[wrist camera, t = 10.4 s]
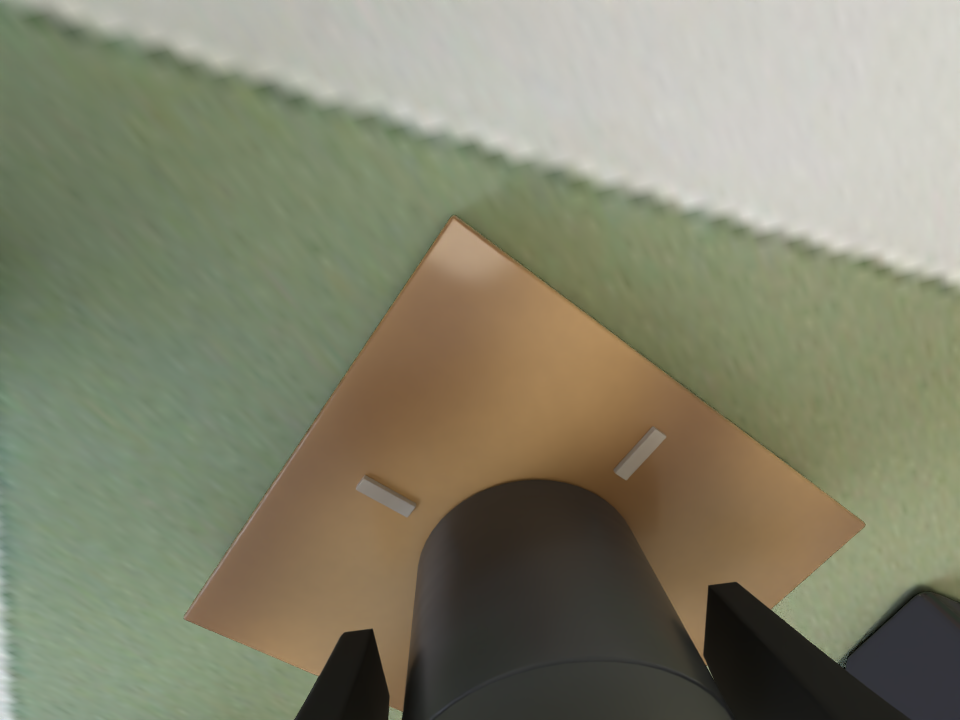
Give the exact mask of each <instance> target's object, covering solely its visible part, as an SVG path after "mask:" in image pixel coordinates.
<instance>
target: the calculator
mask: <svg viewBox="0 0 960 720" xmlns="http://www.w3.org/2000/svg"><path fill="white" fill-rule="evenodd" d="M845 670H846V671H848V672H849V673H850V674H851V675H853V676H854V677H855V678H857V679H858V680H859V681H860V682H862V683H863V684H864V685H865V686H867V687H868V688H869V689H871V690H872V691H873V692H875V693H876V694H877V695H879V696H880V697H881V698H883V699H884V700H885V701H887V702H888V703H889V704H891V705H892V706H893V707H895V708H896V709H897V710H899V711H900V712H902V713H903V714H904V715H906V716H907V717H908V718H910V719H911V720H960V603H959V602H956V601H954V600H951V599H949V598H947V597H944V596H942V595H939V594H936V593H933V592H922V593H919V594H918V595H916V596H915V597H913V598H912V599H911V600H910V601H909V602H908V603H907V604H906V605H904V606H903V607H902V608H901V609H900V610H899V611H898V612H897V613H896V614H895V615H894V616H892V617H891V618H890V619H889V620H888V621H887V622H886V623H885V624H884V625H883V626H882V627H880V628H879V629H878V630H877V631H876V632H875V633H874V634H873V635H872V636H871V637H870V638H868V639H867V640H866V641H865V642H864V643H863V644H862V645H861V646H860V647H859V648H857V649H856V650H855V651H854V652H853V653H852V654H851V655H850V656H849V657H848V658H847V662H846V669H845Z"/></svg>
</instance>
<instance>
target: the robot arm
mask: <svg viewBox="0 0 960 720" xmlns="http://www.w3.org/2000/svg"><path fill="white" fill-rule="evenodd" d="M703 656H704V658H705V660H706V663H707V665H708V667H709V670H710V672H711V674H712V676H713V679H714V681H715V683H716V685H717V687H718V688H719V690H720V692H721V694H722V696H723V698H724V699H725V701H726V703H727V705H728V707H729V708H730V710H731V712H732V714H733V716H734V718H735V720H911V719H910V718H908V717H907V716H906V715H904V714H903V713H902V712H900V711H899V710H897V709H896V708H895V707H893V706H892V705H891V704H889V703H888V702H887V701H885V700H884V699H883V698H881V697H880V696H879V695H877V694H876V693H875V692H873V691H872V690H871V689H869V688H868V687H867V686H865V685H864V684H863V683H862V682H860V681H859V680H858V679H857V678H855V677H854V676H853V675H851V674H850V673H849V672H848V671H846V670H845V669H844V668H842V667H841V666H840V665H839V664H837V663H836V662H835V661H833V660H832V659H831V658H830V657H828V656H827V655H826V654H825V653H823V652H822V651H821V650H820V649H818V648H817V647H816V646H815V645H813V644H812V643H811V642H810V641H808V640H807V639H806V638H805V637H803V636H802V635H801V634H800V633H799V632H797V631H796V630H795V629H794V628H792V627H791V626H790V625H789V624H787V623H786V622H785V621H784V620H783V619H781V618H780V617H779V616H778V615H777V614H775V613H774V612H773V611H772V610H770V609H769V608H768V607H767V606H766V605H764V604H763V603H762V602H761V601H760V600H758V599H757V598H756V597H755V596H753V595H752V594H751V593H750V592H749V591H747V590H746V589H745V588H744V587H742V586H741V585H740V584H739V583H737V582H730V583H722V584H714V585H708V595H707V609H706V623H705V637H704V651H703ZM389 700H390V695H389V691H388V687H387V683H386V679H385V675H384V671H383V667H382V663H381V659H380V655H379V651H378V647H377V643H376V639H375V635H374V631H373V628H372V629H365V630H357V631H349V632H344V633H343V634H342V635H341V636H340V638H339V640H338V642H337V644H336V645H335V647H334V649H333V651H332V653H331V655H330V657H329V659H328V660H327V662H326V664H325V666H324V668H323V670H322V672H321V673H320V675H319V677H318V679H317V681H316V683H315V684H314V686H313V688H312V690H311V691H310V693H309V695H308V697H307V699H306V700H305V702H304V704H303V706H302V707H301V709H300V711H299V713H298V714H297V716H296V718H295V719H294V720H388V715H389Z"/></svg>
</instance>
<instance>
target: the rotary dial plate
mask: <svg viewBox="0 0 960 720" xmlns="http://www.w3.org/2000/svg"><path fill="white" fill-rule="evenodd" d="M522 480H552V481H558V482H564V483H568V484H572V485H575V486H578V487H581V488H583V489H586V490H588V491H590V492H592V493H594V494H596V495H598V496H599V497H601V498H602V499H604V500H606V501H607V502H608V503H609V504H610V505H612V506H613V507H614V508H615V509H616V510H617V511H618V512H619V513H620V514H621V516H622V517H623V518H624V519H625V521H626V522H627V524H628V526H629V527H630V529H631V531H632V533H633V534H634V536H635V538H636V540H637V542H638V543H639V545H640V547H641V549H642V551H643V552H644V554H645V556H646V558H647V560H648V562H649V563H650V565H651V567H652V569H653V571H654V572H655V574H656V576H657V578H658V580H659V581H660V583H661V585H662V587H663V589H664V591H665V592H666V594H667V596H668V598H669V600H670V601H671V603H672V605H673V607H674V609H675V610H676V612H677V614H678V616H679V618H680V620H681V621H682V623H683V625H684V627H685V629H686V630H687V632H688V634H689V636H690V638H691V640H692V641H693V643H694V645H695V647H696V649H697V650H698V652H699V654H700V656H701V658H702V659H703V661H704V663H705V665H706V666H707V663H706V660H705V658H704V656H703V651H704V637H705V623H706V609H707V595H708V585H714V584H722V583H730V582H737V583H739V584H740V585H741V586H742V587H744V588H745V589H746V590H747V591H749V592H750V593H751V594H752V595H753V596H755V597H756V598H757V599H758V600H760V601H761V602H762V603H763V604H764V605H766V606H767V607H768V608H769V609H770V610H771V609H772V608H773V607H774V606H775V605H776V604H778V603H779V602H780V601H781V600H782V599H783V598H784V597H785V596H787V595H788V594H789V593H790V592H791V591H792V590H793V589H795V588H796V587H797V586H798V585H799V584H800V583H801V582H802V581H804V580H805V579H806V578H807V577H808V576H809V575H810V574H812V573H813V572H814V571H815V570H816V569H817V568H818V567H820V566H821V565H822V564H823V563H824V562H825V561H826V560H827V559H829V558H830V557H831V556H832V555H833V554H834V553H835V552H837V551H838V550H839V549H840V548H841V547H842V546H843V545H844V544H846V543H847V542H848V541H849V540H850V539H851V538H852V537H854V536H855V535H856V534H857V533H858V532H859V531H860V530H862V529H863V528H864V527H865V523H864V522H863V521H862V520H860V519H859V518H858V517H857V516H855V515H854V514H853V513H851V512H850V511H849V510H847V509H846V508H845V507H843V506H842V505H841V504H840V503H838V502H837V501H836V500H834V499H833V498H832V497H830V496H829V495H828V494H826V493H825V492H824V491H822V490H821V489H820V488H819V487H817V486H816V485H815V484H813V483H812V482H811V481H809V480H808V479H807V478H805V477H804V476H803V475H801V474H800V473H799V472H797V471H796V470H795V469H793V468H792V467H791V466H789V465H788V464H787V463H785V462H784V461H783V460H781V459H780V458H779V457H777V456H776V455H775V454H773V453H772V452H771V451H769V450H768V449H767V448H765V447H764V446H763V445H761V444H760V443H759V442H757V441H756V440H755V439H753V438H752V437H751V436H749V435H748V434H747V433H745V432H744V431H743V430H741V429H740V428H739V427H737V426H736V425H735V424H733V423H732V422H731V421H729V420H728V419H727V418H725V417H724V416H723V415H721V414H720V413H719V412H717V411H716V410H715V409H713V408H712V407H711V406H709V405H708V404H707V403H705V402H704V401H703V400H701V399H700V398H699V397H697V396H696V395H695V394H693V393H692V392H691V391H689V390H688V389H687V388H685V387H684V386H683V385H681V384H680V383H679V382H677V381H676V380H675V379H673V378H672V377H671V376H669V375H668V374H667V373H665V372H664V371H663V370H661V369H660V368H659V367H657V366H656V365H655V364H653V363H652V362H651V361H649V360H648V359H647V358H645V357H644V356H643V355H641V354H640V353H639V352H637V351H636V350H635V349H633V348H632V347H631V346H629V345H628V344H627V343H625V342H624V341H623V340H621V339H620V338H619V337H617V336H616V335H615V334H613V333H612V332H611V331H609V330H608V329H607V328H605V327H604V326H603V325H601V324H600V323H599V322H597V321H596V320H595V319H593V318H592V317H591V316H589V315H588V314H587V313H585V312H584V311H583V310H581V309H580V308H579V307H577V306H576V305H575V304H573V303H572V302H571V301H569V300H568V299H567V298H565V297H564V296H563V295H561V294H560V293H559V292H557V291H556V290H555V289H553V288H552V287H551V286H549V285H548V284H547V283H545V282H544V281H543V280H541V279H540V278H539V277H537V276H536V275H535V274H533V273H532V272H531V271H529V270H528V269H527V268H525V267H524V266H523V265H521V264H520V263H519V262H517V261H516V260H515V259H513V258H512V257H511V256H509V255H508V254H507V253H505V252H504V251H503V250H501V249H500V248H499V247H497V246H496V245H495V244H493V243H492V242H491V241H489V240H488V239H487V238H485V237H484V236H483V235H481V234H480V233H479V232H477V231H476V230H475V229H473V228H472V227H471V226H469V225H468V224H467V223H465V222H464V221H463V220H461V219H460V218H459V217H457V216H456V215H452V216H451V217H450V219H449V220H448V222H447V223H446V225H445V226H444V228H443V229H442V231H441V232H440V234H439V235H438V237H437V238H436V239H435V241H434V242H433V244H432V245H431V247H430V248H429V250H428V251H427V253H426V254H425V256H424V257H423V259H422V260H421V262H420V263H419V265H418V266H417V268H416V269H415V271H414V272H413V274H412V275H411V277H410V278H409V280H408V281H407V283H406V284H405V286H404V287H403V289H402V290H401V292H400V293H399V295H398V296H397V298H396V299H395V301H394V302H393V304H392V305H391V307H390V308H389V310H388V311H387V313H386V314H385V316H384V317H383V319H382V320H381V322H380V323H379V325H378V326H377V328H376V329H375V331H374V332H373V334H372V335H371V337H370V338H369V340H368V341H367V343H366V344H365V346H364V347H363V349H362V350H361V352H360V353H359V355H358V356H357V358H356V359H355V361H354V362H353V364H352V365H351V366H350V368H349V369H348V371H347V372H346V374H345V375H344V377H343V378H342V380H341V381H340V383H339V384H338V386H337V387H336V389H335V390H334V392H333V393H332V395H331V396H330V398H329V399H328V401H327V402H326V404H325V405H324V407H323V408H322V410H321V411H320V413H319V414H318V416H317V417H316V419H315V420H314V422H313V423H312V425H311V426H310V428H309V429H308V431H307V432H306V434H305V435H304V437H303V438H302V440H301V441H300V443H299V444H298V446H297V447H296V449H295V450H294V452H293V453H292V455H291V456H290V458H289V459H288V461H287V462H286V464H285V465H284V467H283V468H282V470H281V471H280V473H279V474H278V476H277V477H276V479H275V480H274V482H273V483H272V485H271V486H270V488H269V489H268V491H267V492H266V494H265V495H264V496H263V498H262V499H261V501H260V502H259V504H258V505H257V507H256V508H255V510H254V511H253V513H252V514H251V516H250V517H249V519H248V520H247V522H246V523H245V525H244V526H243V528H242V529H241V531H240V532H239V534H238V535H237V537H236V538H235V540H234V541H233V543H232V544H231V546H230V547H229V549H228V550H227V552H226V553H225V555H224V556H223V558H222V559H221V561H220V562H219V564H218V565H217V567H216V568H215V570H214V571H213V573H212V574H211V576H210V577H209V579H208V580H207V582H206V583H205V585H204V586H203V588H202V589H201V591H200V592H199V594H198V595H197V597H196V598H195V600H194V601H193V603H192V604H191V606H190V607H189V609H188V610H187V612H186V613H185V615H184V619H185V620H187V621H189V622H192V623H194V624H196V625H199V626H201V627H203V628H206V629H208V630H210V631H213V632H215V633H218V634H220V635H222V636H225V637H227V638H229V639H232V640H234V641H236V642H239V643H241V644H244V645H246V646H248V647H251V648H253V649H255V650H258V651H260V652H262V653H265V654H267V655H270V656H272V657H274V658H277V659H279V660H281V661H284V662H286V663H288V664H291V665H293V666H296V667H298V668H300V669H303V670H305V671H307V672H310V673H312V674H314V675H317V676H319V675H320V673H321V672H322V670H323V668H324V666H325V664H326V662H327V660H328V659H329V657H330V655H331V653H332V651H333V649H334V647H335V645H336V644H337V642H338V640H339V638H340V636H341V635H342V634H343V633H344V632H349V631H357V630H365V629H372V628H373V631H374V635H375V639H376V643H377V647H378V651H379V655H380V659H381V663H382V667H383V671H384V675H385V679H386V683H387V687H388V691H389V695H390V700H389V706H390V707H392V708H395V709H397V710H400V711H402V712H403V705H404V696H405V686H406V676H407V667H408V657H409V647H410V638H411V628H412V618H413V609H414V599H415V589H416V580H417V570H418V563H419V559H420V555H421V552H422V549H423V547H424V544H425V542H426V540H427V539H428V537H429V535H430V534H431V532H432V530H433V529H434V528H435V527H436V525H437V524H438V523H439V522H440V520H441V519H442V518H443V517H444V516H445V515H446V514H447V513H449V512H450V511H451V510H452V509H453V508H454V507H456V506H457V505H459V504H460V503H461V502H463V501H464V500H466V499H468V498H469V497H471V496H473V495H475V494H477V493H479V492H481V491H484V490H486V489H488V488H491V487H494V486H498V485H501V484H505V483H510V482H515V481H522Z"/></svg>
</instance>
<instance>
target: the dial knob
mask: <svg viewBox="0 0 960 720" xmlns="http://www.w3.org/2000/svg"><path fill="white" fill-rule="evenodd" d="M402 720H735V718H734V716H733V714H732V712H731V710H730V708H729V707H728V705H727V703H726V701H725V699H724V698H723V696H722V694H721V692H720V690H719V688H718V687H717V685H716V683H715V681H714V679H713V678H712V676H711V674H710V672H709V670H708V669H707V667H706V665H705V663H704V661H703V659H702V658H701V656H700V654H699V652H698V650H697V649H696V647H695V645H694V643H693V641H692V640H691V638H690V636H689V634H688V632H687V630H686V629H685V627H684V625H683V623H682V621H681V620H680V618H679V616H678V614H677V612H676V610H675V609H674V607H673V605H672V603H671V601H670V600H669V598H668V596H667V594H666V592H665V591H664V589H663V587H662V585H661V583H660V581H659V580H658V578H657V576H656V574H655V572H654V571H653V569H652V567H651V565H650V563H649V562H648V560H647V558H646V556H645V554H644V552H643V551H642V549H641V547H640V545H639V543H638V542H637V540H636V538H635V536H634V534H633V533H632V531H631V529H630V527H629V526H628V524H627V522H626V521H625V519H624V518H623V517H622V516H621V514H620V513H619V512H618V511H617V510H616V509H615V508H614V507H613V506H612V505H610V504H609V503H608V502H607V501H606V500H604V499H602V498H601V497H599V496H598V495H596V494H594V493H592V492H590V491H588V490H586V489H583V488H581V487H578V486H575V485H572V484H568V483H564V482H558V481H552V480H522V481H515V482H510V483H505V484H501V485H498V486H494V487H491V488H488V489H486V490H484V491H481V492H479V493H477V494H475V495H473V496H471V497H469V498H468V499H466V500H464V501H463V502H461V503H460V504H459V505H457V506H456V507H454V508H453V509H452V510H451V511H450V512H449V513H447V514H446V515H445V516H444V517H443V518H442V519H441V520H440V522H439V523H438V524H437V525H436V527H435V528H434V529H433V530H432V532H431V534H430V535H429V537H428V539H427V540H426V542H425V544H424V547H423V549H422V552H421V555H420V559H419V563H418V570H417V580H416V589H415V599H414V609H413V618H412V628H411V638H410V647H409V657H408V667H407V676H406V686H405V696H404V705H403V715H402Z"/></svg>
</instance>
